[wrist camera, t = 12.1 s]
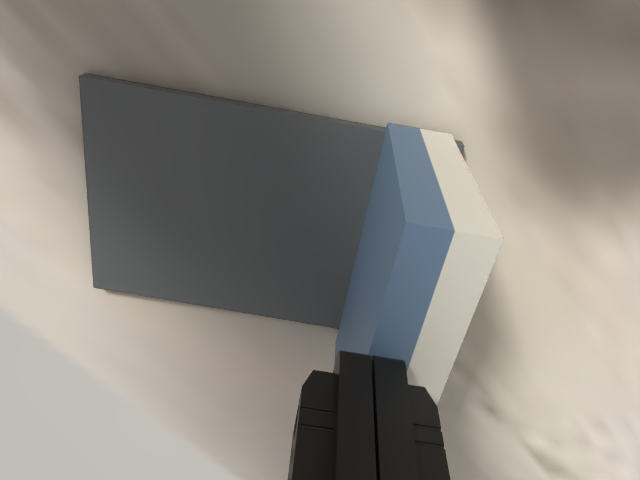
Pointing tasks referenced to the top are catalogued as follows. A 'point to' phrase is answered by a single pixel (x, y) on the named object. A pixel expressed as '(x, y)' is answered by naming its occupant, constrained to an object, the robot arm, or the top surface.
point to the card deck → (419, 258)
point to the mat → (224, 200)
